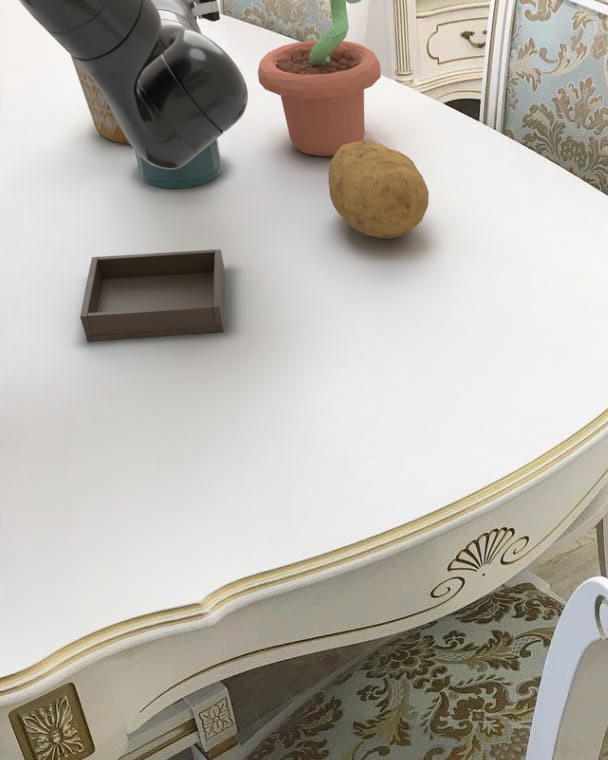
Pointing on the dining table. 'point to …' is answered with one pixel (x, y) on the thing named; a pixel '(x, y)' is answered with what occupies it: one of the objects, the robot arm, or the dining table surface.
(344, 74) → the decorative flower
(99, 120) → the planter
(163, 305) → the tray
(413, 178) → the potato
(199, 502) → the dining table surface
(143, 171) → the cup
